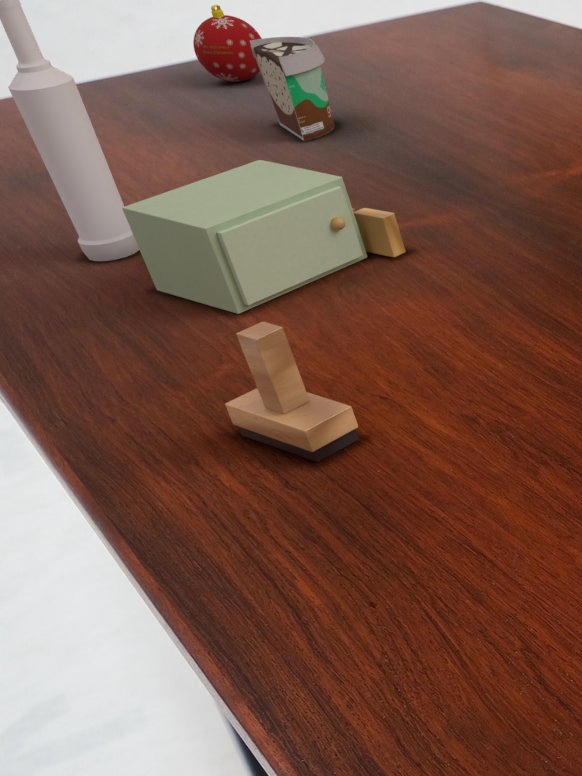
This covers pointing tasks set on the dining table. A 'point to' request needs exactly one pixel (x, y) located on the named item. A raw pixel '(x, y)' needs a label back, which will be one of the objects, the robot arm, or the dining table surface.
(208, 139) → the dining table surface
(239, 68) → the christmas ornament
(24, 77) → the bottle
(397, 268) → the dining table surface
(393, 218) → the cork chip
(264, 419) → the brush
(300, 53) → the food container
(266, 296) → the cabinet
